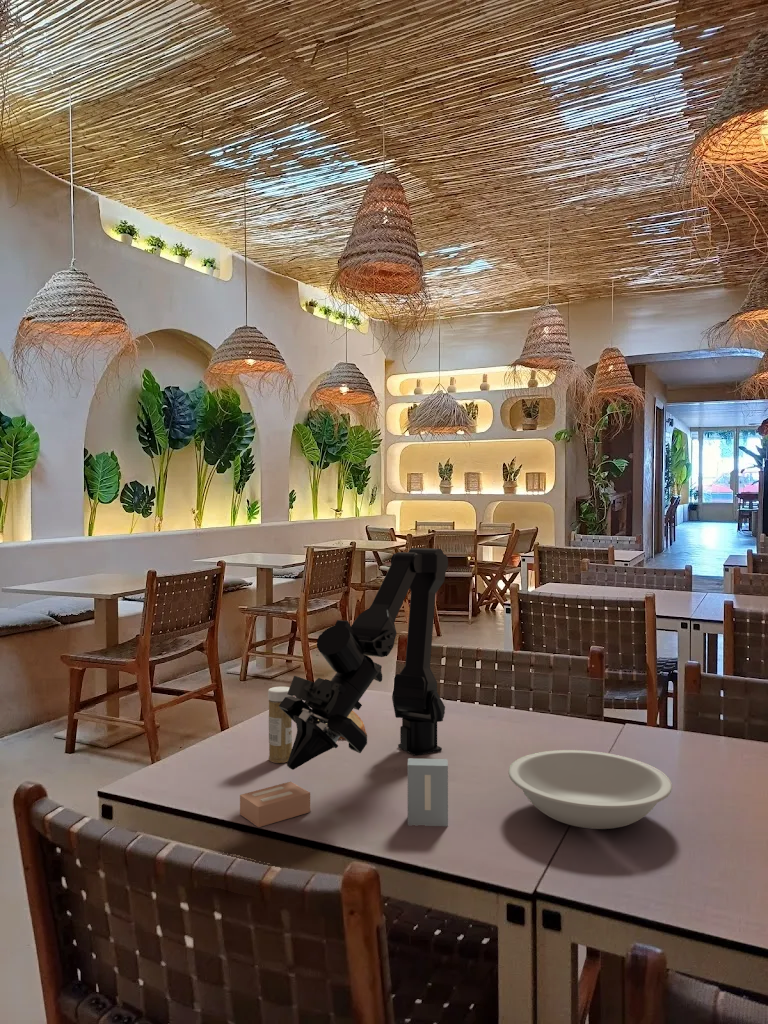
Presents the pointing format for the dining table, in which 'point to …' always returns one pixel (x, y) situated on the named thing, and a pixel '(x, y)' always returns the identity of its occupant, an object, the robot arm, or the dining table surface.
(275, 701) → the sprinkles bottle
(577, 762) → the soup bowl
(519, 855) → the dining table surface
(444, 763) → the grey-blue block
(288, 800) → the cardboard box
